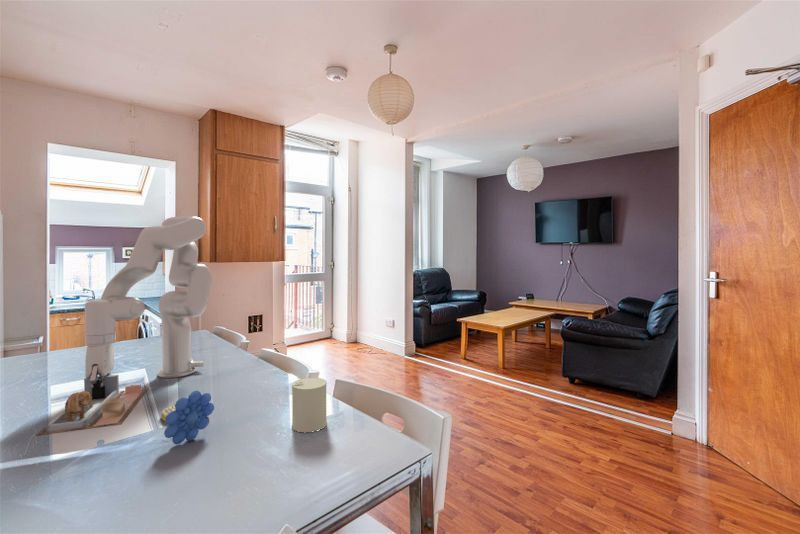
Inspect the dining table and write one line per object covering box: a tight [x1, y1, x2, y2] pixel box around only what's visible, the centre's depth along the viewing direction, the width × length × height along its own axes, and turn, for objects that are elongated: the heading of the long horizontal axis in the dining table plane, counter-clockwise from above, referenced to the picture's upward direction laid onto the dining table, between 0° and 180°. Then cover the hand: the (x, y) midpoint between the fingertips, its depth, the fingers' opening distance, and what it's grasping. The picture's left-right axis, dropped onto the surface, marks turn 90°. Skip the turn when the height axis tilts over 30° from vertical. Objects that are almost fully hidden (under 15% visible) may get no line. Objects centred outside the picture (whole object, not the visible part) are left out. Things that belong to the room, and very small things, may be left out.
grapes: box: [163, 390, 215, 445], centre depth 93 cm, size 12×7×12 cm, turn 143°
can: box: [291, 377, 328, 434], centre depth 101 cm, size 9×9×12 cm
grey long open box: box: [44, 374, 120, 432], centre depth 108 cm, size 8×26×7 cm, turn 22°
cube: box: [102, 396, 126, 418], centre depth 105 cm, size 4×4×4 cm
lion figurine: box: [64, 390, 94, 422], centre depth 104 cm, size 15×5×9 cm, turn 35°
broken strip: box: [95, 383, 143, 426], centre depth 111 cm, size 5×26×3 cm, turn 21°
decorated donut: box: [160, 403, 176, 423], centre depth 105 cm, size 10×11×4 cm
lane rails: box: [35, 387, 149, 436], centre depth 109 cm, size 18×28×1 cm, turn 22°
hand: (102, 395), depth 119 cm, fingers open, 4 cm apart
